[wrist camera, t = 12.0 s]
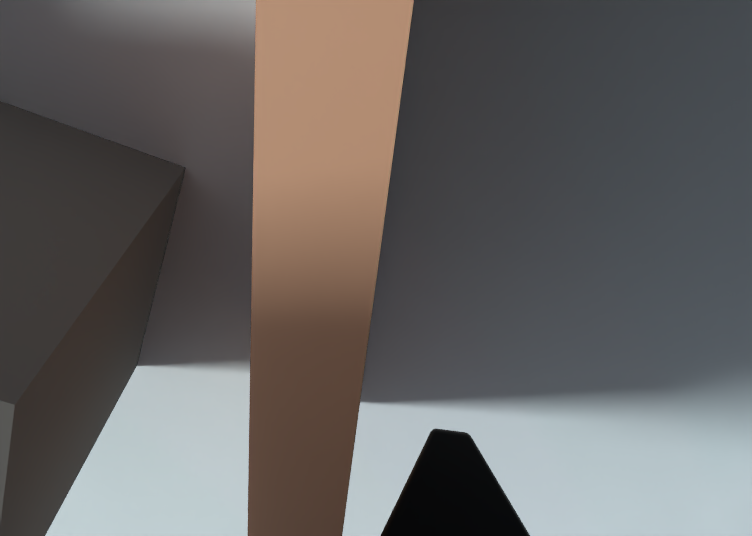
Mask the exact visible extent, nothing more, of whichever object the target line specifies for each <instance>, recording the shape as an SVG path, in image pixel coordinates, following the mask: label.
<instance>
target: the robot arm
mask: <svg viewBox="0 0 752 536" xmlns="http://www.w3.org/2000/svg"><path fill="white" fill-rule="evenodd" d="M381 536H530V535H529V533H528V532H527V530H526V528H525V527H524V525H523V523H522V522H521V520H520V518H519V517H518V515H517V513H516V511H515V510H514V508H513V506H512V505H511V503H510V501H509V500H508V498H507V496H506V495H505V493H504V491H503V490H502V488H501V486H500V485H499V483H498V481H497V480H496V478H495V476H494V475H493V473H492V471H491V469H490V468H489V466H488V464H487V463H486V461H485V459H484V458H483V456H482V454H481V453H480V451H479V449H478V448H477V446H476V444H475V443H474V441H473V439H472V438H471V436H470V435H469V434H467V433H465V432H458V431H450V430H443V429H433V430H432V431H431V432H430V434H429V436H428V439H427V441H426V443H425V445H424V447H423V449H422V451H421V453H420V455H419V457H418V459H417V461H416V463H415V466H414V468H413V470H412V472H411V474H410V476H409V478H408V480H407V482H406V484H405V486H404V488H403V490H402V493H401V495H400V497H399V499H398V501H397V503H396V505H395V507H394V509H393V511H392V513H391V515H390V517H389V519H388V522H387V524H386V526H385V528H384V530H383V532H382V534H381Z"/></svg>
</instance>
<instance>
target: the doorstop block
mask: <svg viewBox="0 0 752 536" xmlns="http://www.w3.org/2000/svg"><path fill="white" fill-rule="evenodd" d="M184 172H185V167H182V166H179V165H176V164H173V163H171V162H168V161H165V160H162V159H159V158H157V157H154V156H151V155H148V154H146V153H143V152H140V151H137V150H134V149H132V148H129V147H126V146H123V145H121V144H118V143H115V142H112V141H109V140H107V139H104V138H101V137H98V136H96V135H93V134H90V133H87V132H84V131H82V130H79V129H76V128H73V127H70V126H68V125H65V124H62V123H59V122H57V121H54V120H51V119H48V118H45V117H43V116H40V115H37V114H34V113H32V112H29V111H26V110H23V109H20V108H18V107H15V106H12V105H9V104H6V103H4V102H1V101H0V536H45V535H46V533H47V531H48V529H49V527H50V525H51V524H52V522H53V520H54V518H55V516H56V514H57V512H58V511H59V509H60V507H61V505H62V503H63V501H64V499H65V498H66V496H67V494H68V492H69V490H70V488H71V486H72V485H73V483H74V481H75V479H76V477H77V475H78V474H79V472H80V470H81V468H82V466H83V464H84V462H85V461H86V459H87V457H88V455H89V453H90V451H91V449H92V448H93V446H94V444H95V442H96V440H97V438H98V436H99V435H100V433H101V431H102V429H103V427H104V425H105V423H106V422H107V420H108V418H109V416H110V414H111V412H112V411H113V409H114V407H115V405H116V403H117V401H118V399H119V398H120V396H121V394H122V392H123V390H124V388H125V386H126V385H127V383H128V381H129V379H130V377H131V375H132V373H133V372H134V370H135V368H136V366H137V362H138V358H139V354H140V350H141V346H142V342H143V338H144V334H145V330H146V326H147V322H148V318H149V314H150V310H151V306H152V302H153V298H154V293H155V289H156V285H157V281H158V277H159V273H160V269H161V265H162V261H163V257H164V253H165V249H166V245H167V241H168V237H169V233H170V229H171V225H172V221H173V216H174V212H175V208H176V204H177V200H178V196H179V192H180V188H181V184H182V180H183V176H184Z"/></svg>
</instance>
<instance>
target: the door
mask: <svg viewBox="0 0 752 536" xmlns="http://www.w3.org/2000/svg"><path fill="white" fill-rule="evenodd" d="M413 3H414V0H256V31H255V96H254V161H253V226H252V291H251V355H250V420H249V485H248V536H342V532H343V524H344V517H345V509H346V502H347V494H348V487H349V479H350V472H351V465H352V457H353V450H354V442H355V435H356V427H357V420H358V412H359V405H360V397H361V390H362V383H363V375H364V368H365V360H366V353H367V345H368V338H369V330H370V323H371V316H372V308H373V301H374V293H375V286H376V278H377V271H378V263H379V256H380V248H381V241H382V234H383V226H384V219H385V211H386V204H387V196H388V189H389V181H390V174H391V166H392V159H393V152H394V144H395V137H396V129H397V122H398V114H399V107H400V99H401V92H402V85H403V77H404V70H405V62H406V55H407V47H408V40H409V32H410V25H411V17H412V10H413Z"/></svg>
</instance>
